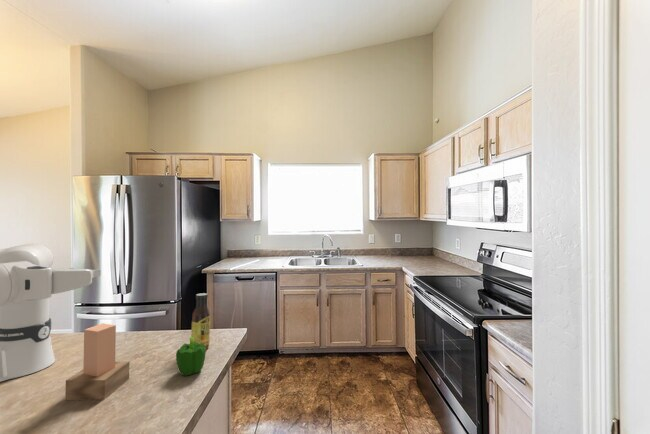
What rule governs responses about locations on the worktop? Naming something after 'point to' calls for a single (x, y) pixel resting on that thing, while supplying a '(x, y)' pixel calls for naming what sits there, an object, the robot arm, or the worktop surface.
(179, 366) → the bell pepper
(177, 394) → the worktop surface
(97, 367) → the terracotta block
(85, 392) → the walnut block
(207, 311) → the sauce bottle
